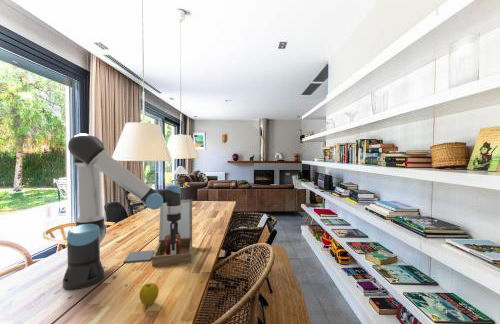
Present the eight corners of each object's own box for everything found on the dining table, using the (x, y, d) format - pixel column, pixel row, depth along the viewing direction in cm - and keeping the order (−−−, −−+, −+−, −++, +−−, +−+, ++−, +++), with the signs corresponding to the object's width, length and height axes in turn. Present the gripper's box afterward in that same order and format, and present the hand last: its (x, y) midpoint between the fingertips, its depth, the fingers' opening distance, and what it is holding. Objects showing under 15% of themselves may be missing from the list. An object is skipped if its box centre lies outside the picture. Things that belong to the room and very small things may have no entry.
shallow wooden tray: (191, 262, 124) (191, 251, 124) (152, 266, 120) (152, 255, 120) (192, 246, 147) (192, 237, 147) (159, 249, 143) (158, 239, 143)
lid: (192, 199, 154) (192, 199, 155) (160, 200, 150) (160, 201, 151) (192, 237, 147) (192, 237, 148) (158, 239, 143) (159, 240, 144)
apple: (135, 307, 87) (135, 285, 87) (148, 297, 93) (148, 277, 93) (149, 311, 85) (149, 288, 84) (162, 301, 90) (162, 279, 90)
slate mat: (150, 260, 127) (150, 259, 127) (123, 263, 124) (123, 261, 124) (154, 251, 139) (154, 250, 139) (130, 253, 137) (130, 252, 137)
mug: (161, 254, 135) (161, 236, 134) (175, 250, 141) (175, 232, 141) (172, 260, 126) (172, 241, 126) (187, 256, 133) (186, 237, 133)
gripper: (179, 217, 122) (180, 259, 122) (182, 207, 146) (182, 242, 147) (163, 218, 120) (164, 261, 121) (169, 208, 145) (169, 244, 145)
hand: (174, 251), depth 134 cm, fingers open, 13 cm apart
